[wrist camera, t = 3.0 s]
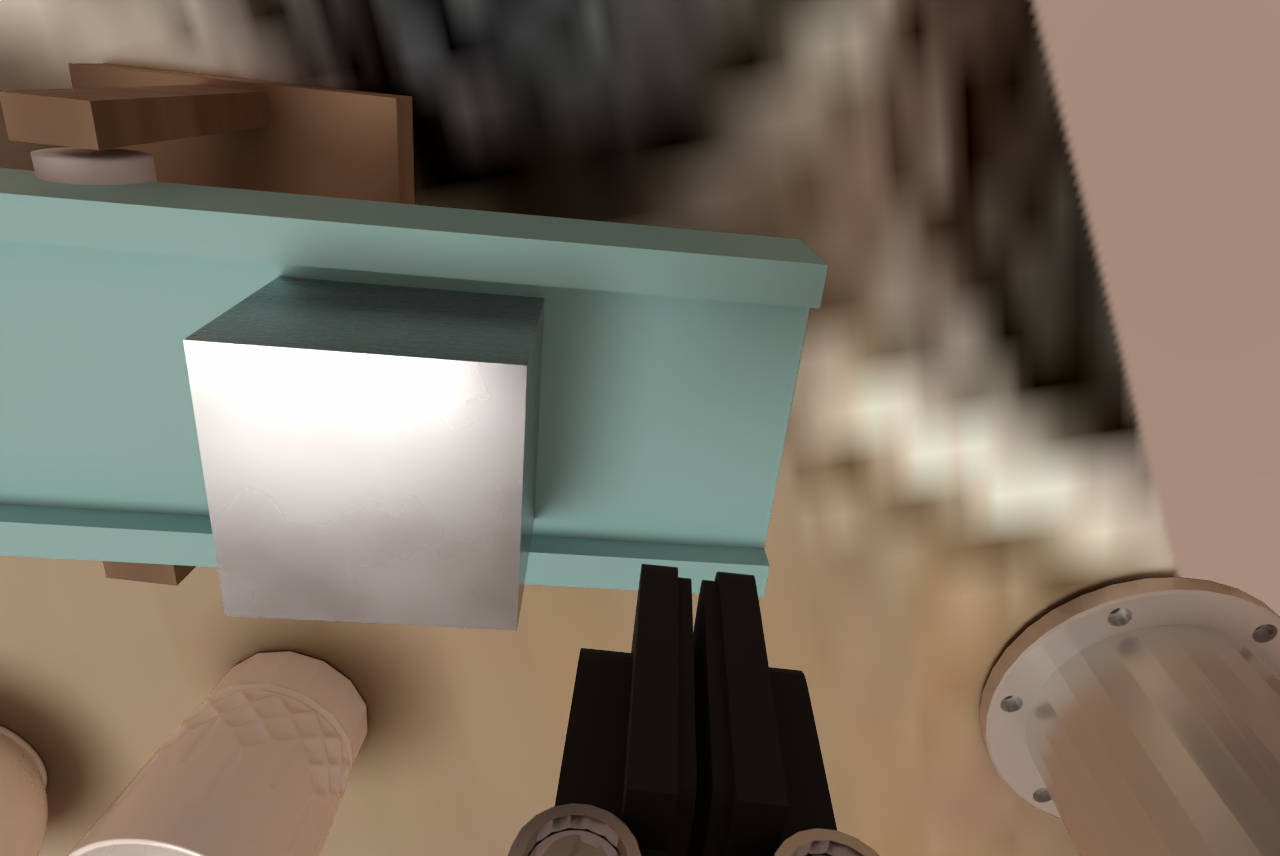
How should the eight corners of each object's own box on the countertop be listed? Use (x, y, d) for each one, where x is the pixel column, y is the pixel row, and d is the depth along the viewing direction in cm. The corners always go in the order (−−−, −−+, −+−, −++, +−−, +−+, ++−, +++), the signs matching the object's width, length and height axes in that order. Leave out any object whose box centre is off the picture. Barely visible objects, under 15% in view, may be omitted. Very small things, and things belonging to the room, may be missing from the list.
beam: (793, 210, 21) (847, 254, 16) (738, 532, 25) (768, 641, 20) (-642, 79, 18) (-1070, 85, 14) (-440, 461, 23) (-715, 566, 18)
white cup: (411, 750, 37) (320, 972, 28) (267, 784, 39) (137, 1006, 29) (329, 619, 34) (198, 819, 25) (177, 661, 36) (2, 865, 27)
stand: (412, 96, 25) (273, 110, 17) (420, 460, 31) (319, 607, 22) (102, 63, 25) (-188, 61, 17) (164, 431, 31) (-32, 567, 22)
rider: (544, 297, 18) (527, 366, 14) (534, 519, 21) (517, 631, 17) (278, 276, 18) (183, 339, 14) (300, 505, 21) (224, 615, 16)
